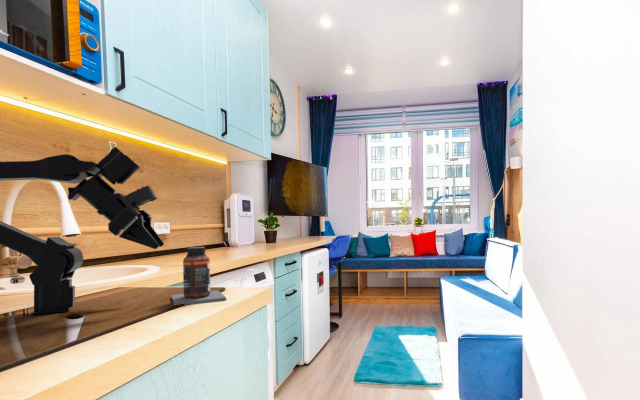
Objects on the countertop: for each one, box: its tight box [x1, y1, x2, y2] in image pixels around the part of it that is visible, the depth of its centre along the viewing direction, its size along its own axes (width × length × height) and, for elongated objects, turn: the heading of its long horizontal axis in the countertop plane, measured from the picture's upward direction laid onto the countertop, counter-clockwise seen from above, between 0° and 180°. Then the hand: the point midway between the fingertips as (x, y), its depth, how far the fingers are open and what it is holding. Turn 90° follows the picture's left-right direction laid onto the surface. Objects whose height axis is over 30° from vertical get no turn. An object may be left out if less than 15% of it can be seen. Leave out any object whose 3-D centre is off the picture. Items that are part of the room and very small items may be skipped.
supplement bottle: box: [182, 246, 211, 298], centre depth 91 cm, size 6×6×11 cm
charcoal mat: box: [170, 290, 227, 306], centre depth 91 cm, size 11×11×1 cm
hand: (160, 246), depth 90 cm, fingers open, 9 cm apart
